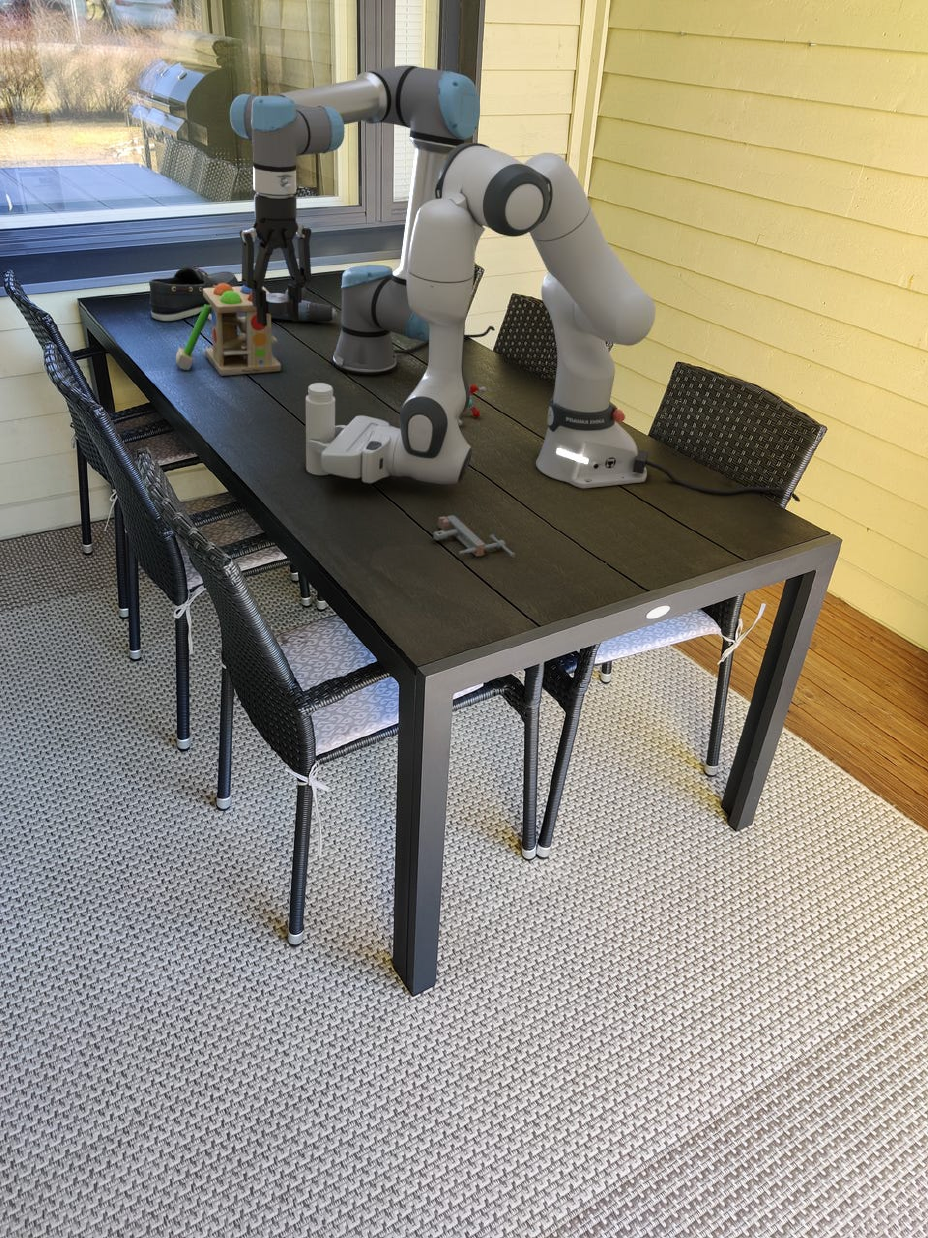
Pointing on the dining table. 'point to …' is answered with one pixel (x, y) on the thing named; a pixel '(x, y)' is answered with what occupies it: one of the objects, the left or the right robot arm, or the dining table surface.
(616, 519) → the dining table surface
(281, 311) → the lid
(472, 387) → the molecular model
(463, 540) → the clamp
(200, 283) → the boat shoe
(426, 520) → the dining table surface
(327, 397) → the jar
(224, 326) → the pounding bench toy
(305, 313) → the power drill
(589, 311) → the right robot arm
